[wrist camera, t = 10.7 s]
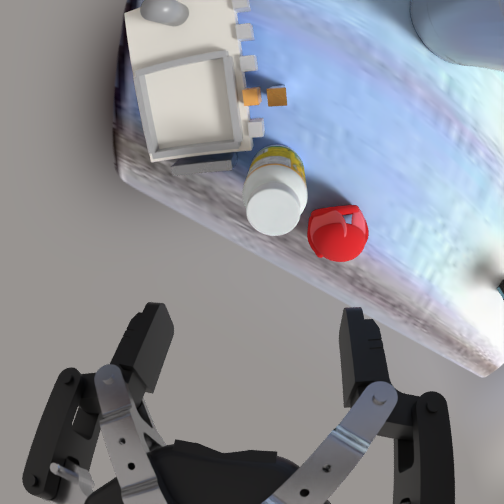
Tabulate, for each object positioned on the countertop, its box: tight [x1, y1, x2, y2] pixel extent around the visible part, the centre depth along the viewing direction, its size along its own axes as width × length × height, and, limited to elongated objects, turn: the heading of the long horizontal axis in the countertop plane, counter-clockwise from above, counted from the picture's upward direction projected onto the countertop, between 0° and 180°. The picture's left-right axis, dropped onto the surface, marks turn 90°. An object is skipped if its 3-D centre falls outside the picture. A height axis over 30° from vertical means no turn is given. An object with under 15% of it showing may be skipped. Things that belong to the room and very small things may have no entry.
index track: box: [171, 85, 287, 176], centre depth 19 cm, size 24×12×6 cm, turn 6°
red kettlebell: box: [307, 205, 368, 262], centre depth 29 cm, size 8×6×6 cm
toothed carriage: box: [124, 0, 265, 162], centre depth 20 cm, size 16×11×6 cm
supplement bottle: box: [242, 145, 307, 236], centre depth 25 cm, size 5×5×10 cm
